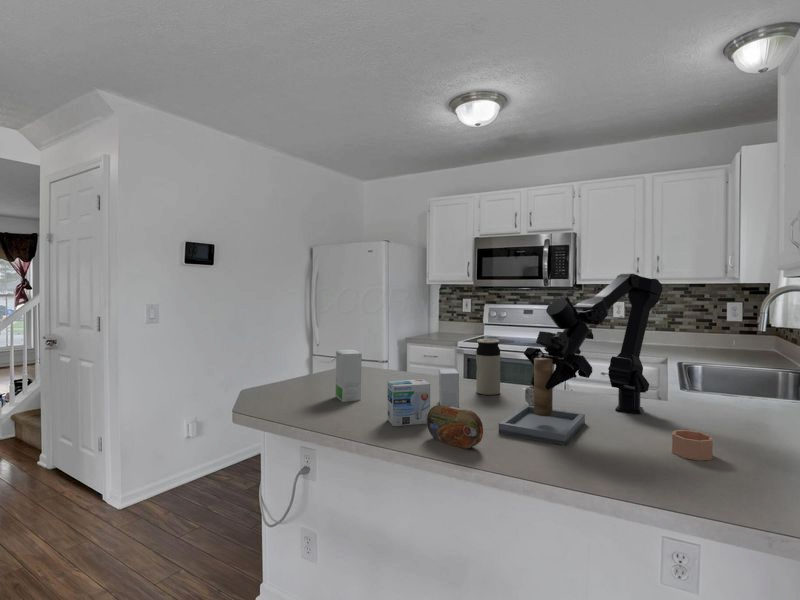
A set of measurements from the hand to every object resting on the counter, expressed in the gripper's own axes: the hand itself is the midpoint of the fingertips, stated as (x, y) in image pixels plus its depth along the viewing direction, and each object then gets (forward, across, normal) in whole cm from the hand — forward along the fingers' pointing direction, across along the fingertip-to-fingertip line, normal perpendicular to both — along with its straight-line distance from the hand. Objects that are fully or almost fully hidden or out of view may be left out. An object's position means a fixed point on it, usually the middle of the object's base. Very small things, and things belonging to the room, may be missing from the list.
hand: (539, 386), depth 114 cm
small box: (+13, -31, +3) cm, 33 cm away
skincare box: (+30, -53, -14) cm, 62 cm away
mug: (-1, -14, +17) cm, 22 cm away
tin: (+25, -2, -10) cm, 27 cm away
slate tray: (+7, 0, +9) cm, 11 cm away
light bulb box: (+26, -22, -11) cm, 36 cm away
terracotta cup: (-4, +28, +19) cm, 34 cm away
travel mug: (-2, -37, +17) cm, 41 cm away
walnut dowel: (+4, 0, +6) cm, 7 cm away
